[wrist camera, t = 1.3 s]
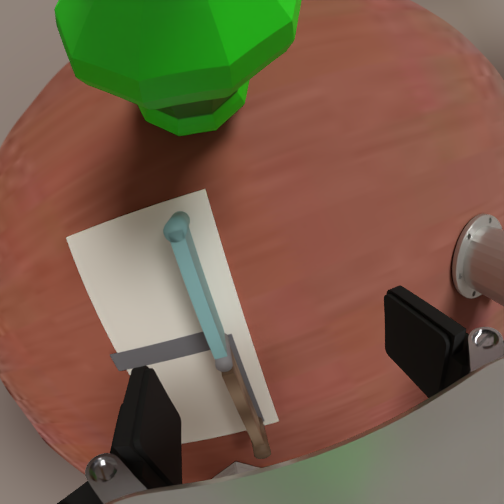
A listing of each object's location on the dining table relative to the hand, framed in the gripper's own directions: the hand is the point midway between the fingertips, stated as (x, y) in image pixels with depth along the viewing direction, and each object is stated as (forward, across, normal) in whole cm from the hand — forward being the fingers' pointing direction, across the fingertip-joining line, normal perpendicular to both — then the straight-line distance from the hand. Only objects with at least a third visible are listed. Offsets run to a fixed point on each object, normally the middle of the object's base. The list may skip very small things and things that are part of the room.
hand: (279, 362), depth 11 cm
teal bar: (+19, +4, +3) cm, 19 cm away
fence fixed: (+19, +3, +18) cm, 26 cm away
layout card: (+19, +9, +10) cm, 24 cm away
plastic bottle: (+20, 0, -15) cm, 25 cm away
